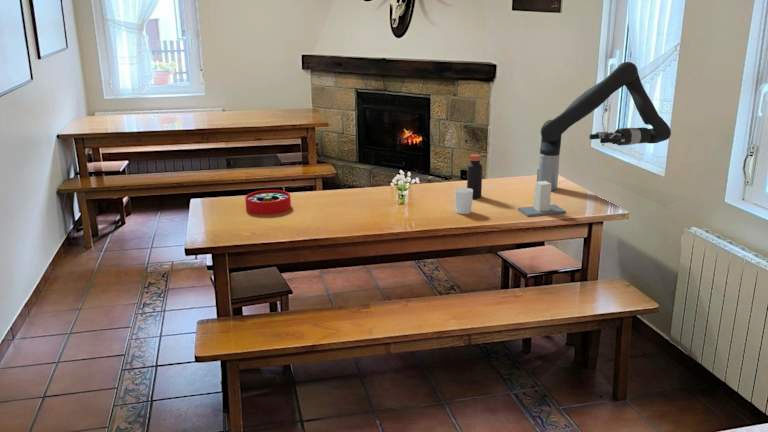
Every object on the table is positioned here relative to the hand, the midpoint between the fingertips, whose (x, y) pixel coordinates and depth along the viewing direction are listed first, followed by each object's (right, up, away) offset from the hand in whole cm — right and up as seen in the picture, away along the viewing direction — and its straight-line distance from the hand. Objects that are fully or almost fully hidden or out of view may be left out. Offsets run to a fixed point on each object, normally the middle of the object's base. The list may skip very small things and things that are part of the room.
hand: (595, 138), depth 302 cm
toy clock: (-145, -31, +9) cm, 148 cm away
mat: (-24, -32, 0) cm, 40 cm away
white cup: (-58, -32, 0) cm, 66 cm away
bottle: (-50, -25, +22) cm, 60 cm away
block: (-24, -31, -1) cm, 39 cm away
